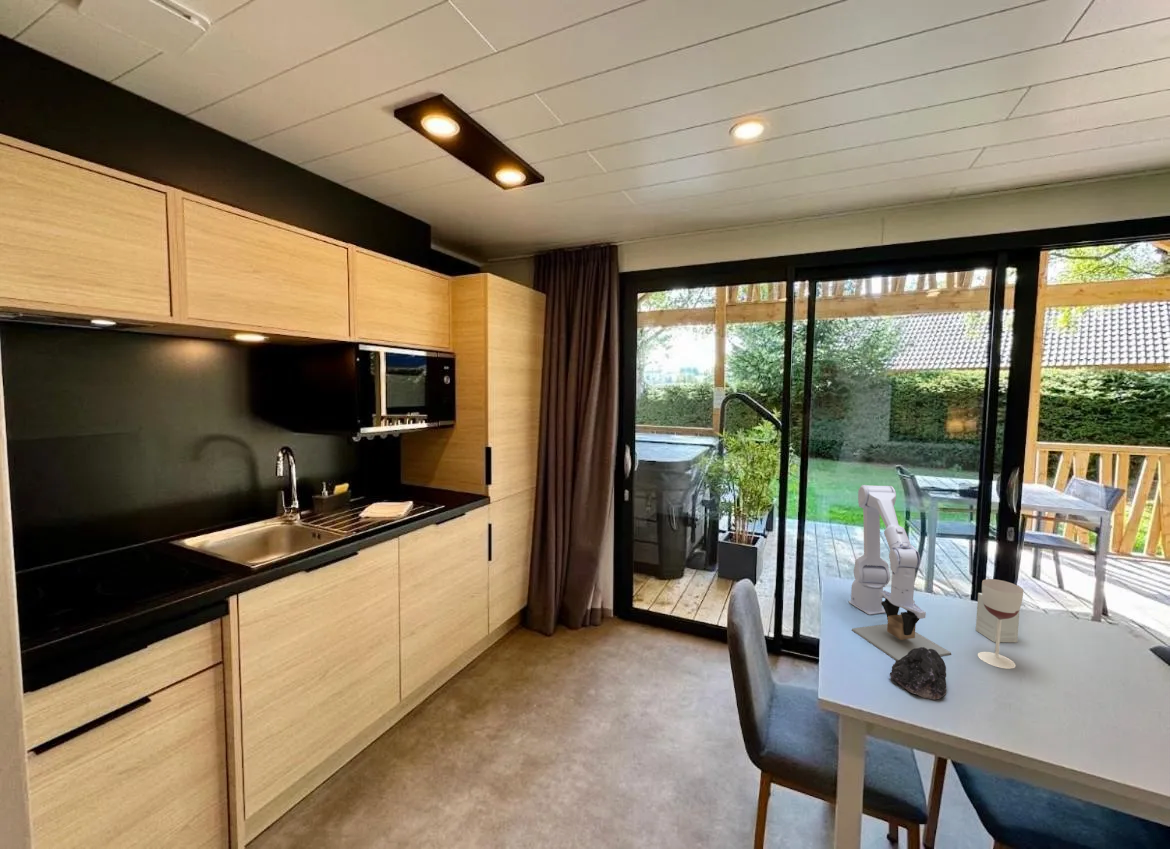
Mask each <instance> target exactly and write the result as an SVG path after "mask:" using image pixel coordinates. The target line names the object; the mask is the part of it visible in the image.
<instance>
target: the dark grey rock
mask: <svg viewBox="0 0 1170 849" xmlns="http://www.w3.org/2000/svg"><path fill="white" fill-rule="evenodd" d="M889 676H890V679H891V680H892V681H894V682H896V683H897V684H898V685H900V686H901V687H902V688H904V689H905V690H906V691H908V692H910V693H912V694H914V695H916V696H917V695H918V696H919V697H922V698H923V699H929V700H940V699H941V698H943V697H944V696H945V695H946V694H947V679H946V677H947V665H946V663H945V660H944V658H942V656H940V655H939V654H938V652H937V651H936V650H934V649H927V648H925V647H920V648H914V649H912V650H911V651H909V652H908V654H907V655H905V656H904V657H902V658H901V659H900V660H895V662H894V663H893V664H892V666H891V672H890V673H889Z"/></svg>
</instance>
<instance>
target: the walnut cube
mask: <svg viewBox="0 0 1170 849" xmlns="http://www.w3.org/2000/svg"><path fill="white" fill-rule="evenodd" d="M887 624H888V625H887V632H889V633H891V634H892V635H894V636H895V637H897V638H899V639H900V640H904V639H911V638H915V632H916V626H917V624H916V625H915V626H914V629H913V631H912V634H911V635H904V631H903V619H902V616H901V613H900V614H898V615H891V616H888V619H887Z"/></svg>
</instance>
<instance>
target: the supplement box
mask: <svg viewBox="0 0 1170 849" xmlns="http://www.w3.org/2000/svg"><path fill="white" fill-rule="evenodd" d="M1020 611H1021V609H1020V610H1019V612H1018V614H1017V615H1016V616H1015V617H1013V618H1009V619H1002V621H1001V633H1000V643H1018V639H1019V638H1018V637H1019V623H1020V622H1019V621H1020ZM975 620H976V621H975V622H976V623H975V631H976V632H977V633H979V634H980V635H982V636H984V637H985V638H986V639H988V640H990V641H991V642H993V643H996V634H997V622H998V618H997V617H995V616H993V615H992V614H991V613H990V612H988V611H987V609H986V608H985V606H984V603H983V600H982V592H978V593H977V604H976V619H975Z"/></svg>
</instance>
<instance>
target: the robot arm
mask: <svg viewBox="0 0 1170 849" xmlns="http://www.w3.org/2000/svg"><path fill="white" fill-rule="evenodd" d="M896 492H897V491H896V490H895V488H894V487H893V485H871V484H870V485H867V484H861V486H860V487H859V488H858V492H857V494H858V495H857V498H858V499H857V500H858V502H857V503H858V507H859V508H861V509H862V514H863V555H861V556H859V557H857V558H856V559H855V561H854V567H853V577H854V579H855V580H854V581H853V582H852V584H851V592H850V594H851V595H850V600H849V601H848V603H849V604H850V605H853V606H854V607H856V608H858V609H859V611H860V610H861V612H864V613H866V614H867V615H870V616H871V615H878V614H885V616H886V618H887V620H888V616H891V615H899V611H900V609H901V608H902V609H903V610H905V611H903V612H900V614H901V616H902V619H903V631H904V635H911V634H912V631H913V629H914V626H915V625H916V626H917V623H918V621H920V620H921V619H926V616H927V613H926V611H925V610H923V609H922V608H921V607H919V606H918V605H917V604H916V603H915V602H916V601H915V600H914V596H915V595H914V594H915V592H914V591H915V578H916V569H919V567H920V565H921V556H920V553H919V551H918V549H917V548H915V546H914V545H912V544H911V542H910V540H909V537H908V534H907V532H906V529H905V528H904V527H903V526H900V524H899V521H898V517H897V513H896V510H895V507H894V506H895V504H896V500H897V493H896ZM880 517H881V518H880ZM880 519H882V521H883V524H884V526H885V529H884V531H883V533H884V537H885V539H886V541H887V545H888V549H889V553H888V557H889V558H888V559H889V563H890V566H889V563H888V562H887V561H886V560H884V559H883V558H882V557H881V524H880V523H881V520H880ZM889 568H890V569H889ZM890 571H891V573H890ZM890 580H891V586H890V592H889V591H887V590H884V588H886V585H889V583H890ZM883 599H884V600H883Z"/></svg>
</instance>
